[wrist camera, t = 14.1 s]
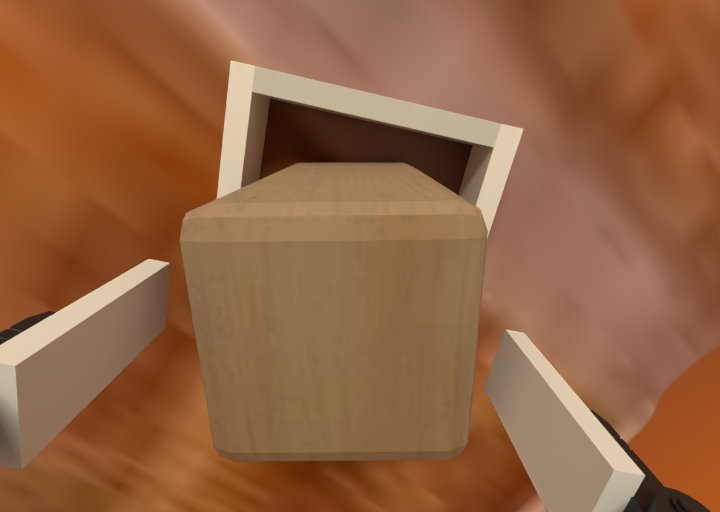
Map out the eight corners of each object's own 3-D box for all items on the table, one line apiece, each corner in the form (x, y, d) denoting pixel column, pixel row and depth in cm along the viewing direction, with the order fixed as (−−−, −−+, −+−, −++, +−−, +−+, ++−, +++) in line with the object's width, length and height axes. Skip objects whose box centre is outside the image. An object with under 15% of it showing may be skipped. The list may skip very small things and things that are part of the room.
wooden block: (295, 279, 33) (206, 474, 14) (287, 162, 30) (159, 209, 11) (409, 277, 33) (474, 472, 14) (412, 160, 30) (501, 205, 11)
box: (226, 301, 34) (203, 328, 29) (253, 72, 28) (230, 60, 23) (431, 341, 35) (442, 373, 30) (497, 129, 29) (523, 129, 25)
